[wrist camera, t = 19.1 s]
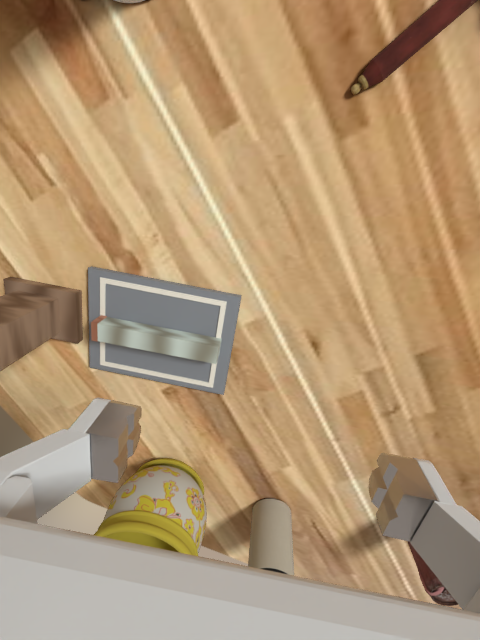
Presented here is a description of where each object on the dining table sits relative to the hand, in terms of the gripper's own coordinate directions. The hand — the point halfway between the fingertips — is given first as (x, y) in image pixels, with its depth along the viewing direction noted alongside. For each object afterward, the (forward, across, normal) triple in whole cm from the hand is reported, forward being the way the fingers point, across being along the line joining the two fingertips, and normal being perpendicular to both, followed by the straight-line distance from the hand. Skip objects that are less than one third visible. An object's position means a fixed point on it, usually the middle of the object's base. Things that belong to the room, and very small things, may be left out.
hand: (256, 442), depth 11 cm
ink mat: (+38, +15, +17) cm, 45 cm away
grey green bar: (+37, +15, +17) cm, 43 cm away
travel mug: (+38, -11, +53) cm, 66 cm away
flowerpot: (+38, +11, +50) cm, 64 cm away
